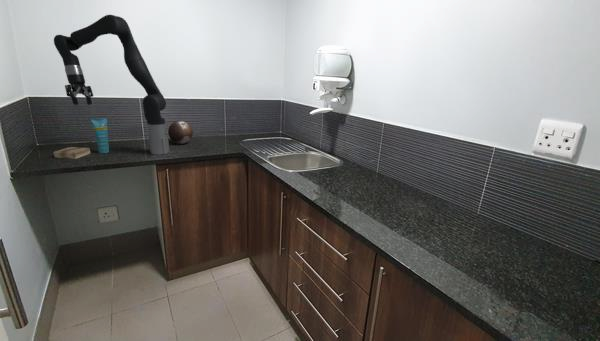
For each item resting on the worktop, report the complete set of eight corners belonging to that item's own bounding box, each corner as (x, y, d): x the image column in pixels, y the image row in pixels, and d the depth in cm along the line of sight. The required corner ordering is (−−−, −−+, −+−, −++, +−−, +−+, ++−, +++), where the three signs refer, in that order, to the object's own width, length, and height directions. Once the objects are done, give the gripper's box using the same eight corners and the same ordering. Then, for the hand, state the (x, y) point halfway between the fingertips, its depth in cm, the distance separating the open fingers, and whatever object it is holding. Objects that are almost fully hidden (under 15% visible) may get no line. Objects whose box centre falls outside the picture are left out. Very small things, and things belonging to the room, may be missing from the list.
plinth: (90, 153, 161) (89, 147, 160) (75, 158, 150) (74, 152, 149) (70, 152, 161) (69, 146, 160) (54, 157, 150) (53, 151, 149)
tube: (97, 154, 160) (91, 119, 154) (95, 152, 163) (89, 118, 157) (112, 152, 165) (107, 118, 159) (110, 150, 168) (105, 117, 162)
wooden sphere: (180, 147, 184) (179, 123, 179) (164, 143, 189) (161, 121, 185) (198, 143, 196) (196, 121, 192) (182, 139, 202) (180, 118, 198)
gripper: (68, 72, 151) (77, 103, 154) (91, 74, 165) (99, 103, 168) (56, 74, 152) (65, 105, 156) (80, 76, 166) (88, 105, 169)
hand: (83, 104), depth 162 cm, fingers open, 8 cm apart
